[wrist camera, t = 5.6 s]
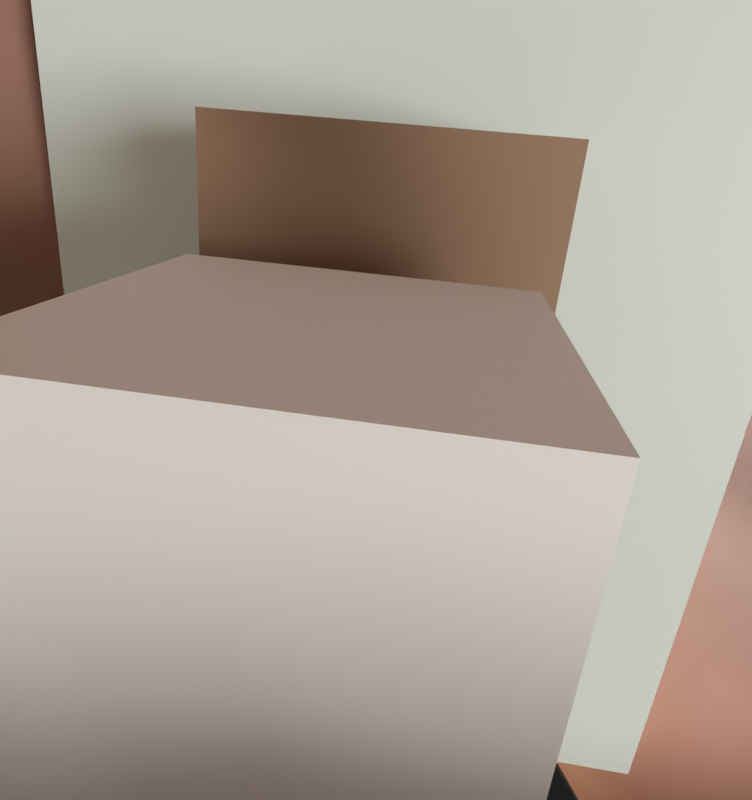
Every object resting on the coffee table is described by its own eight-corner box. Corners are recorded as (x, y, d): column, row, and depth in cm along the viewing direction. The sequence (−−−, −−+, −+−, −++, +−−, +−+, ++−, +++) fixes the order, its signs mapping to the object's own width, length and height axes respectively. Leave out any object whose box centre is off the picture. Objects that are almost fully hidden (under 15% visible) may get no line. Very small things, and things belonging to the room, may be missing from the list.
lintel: (541, 292, 7) (640, 458, 3) (433, 874, 10) (416, 1272, 7) (187, 253, 7) (-126, 357, 3) (206, 829, 11) (71, 1181, 7)
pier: (540, 147, 12) (590, 138, 7) (500, 383, 14) (519, 494, 9) (293, 126, 12) (195, 106, 8) (287, 357, 14) (204, 450, 10)
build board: (887, -40, 11) (910, -50, 10) (623, 755, 18) (628, 774, 18) (40, -86, 12) (19, -97, 12) (118, 668, 20) (108, 683, 19)
